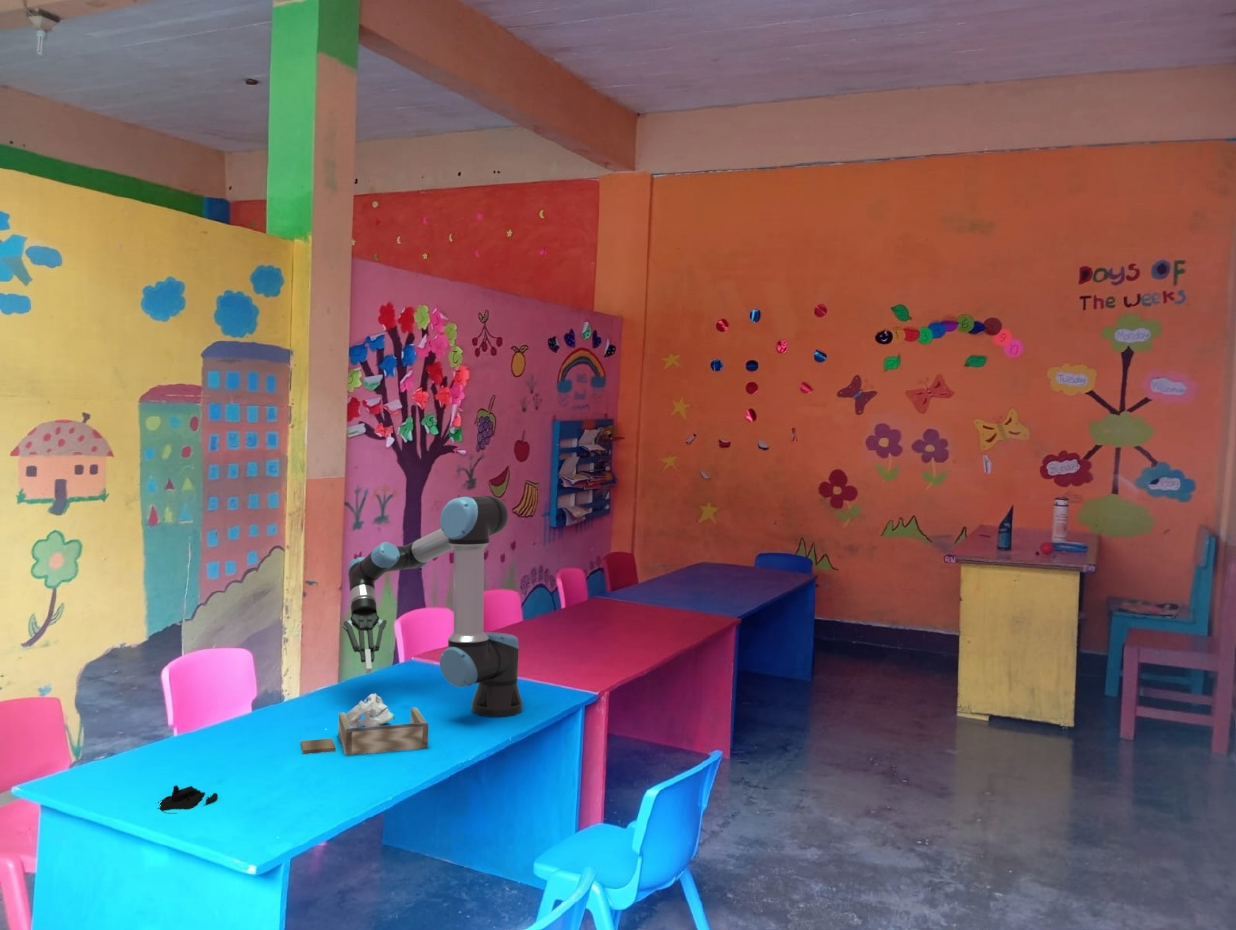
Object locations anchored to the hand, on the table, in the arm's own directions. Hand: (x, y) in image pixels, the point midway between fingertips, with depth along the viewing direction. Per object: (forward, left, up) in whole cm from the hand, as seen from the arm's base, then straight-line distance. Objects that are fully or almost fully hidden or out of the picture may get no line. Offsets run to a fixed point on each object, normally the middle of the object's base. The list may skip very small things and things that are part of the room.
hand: (368, 670), depth 289 cm
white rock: (-2, +12, -13) cm, 18 cm away
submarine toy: (+36, +65, -14) cm, 75 cm away
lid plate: (+11, +30, -13) cm, 34 cm away
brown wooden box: (-5, +26, -13) cm, 29 cm away
